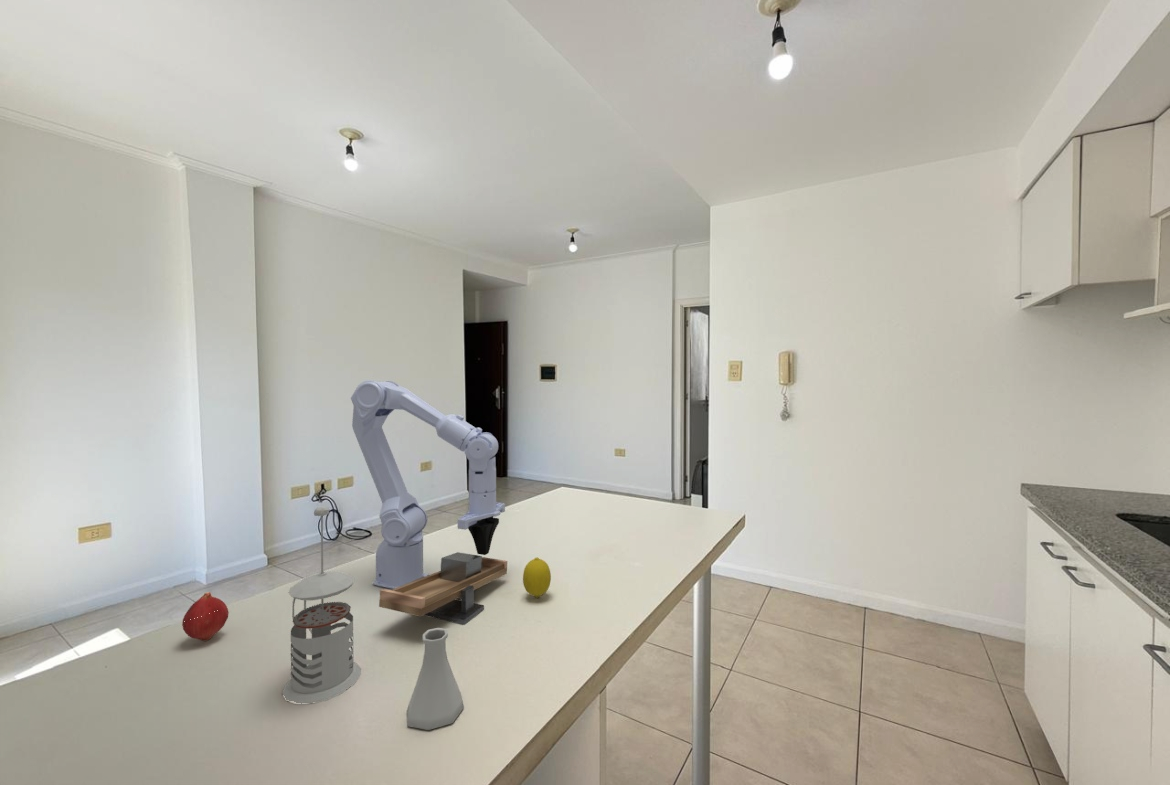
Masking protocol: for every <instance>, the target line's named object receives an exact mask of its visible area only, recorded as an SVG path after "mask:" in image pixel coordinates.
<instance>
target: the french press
mask: <svg viewBox="0 0 1170 785" xmlns="http://www.w3.org/2000/svg"><path fill="white" fill-rule="evenodd" d="M329 514H330V509H329V507H328V506H326V505H320V506H317V507H316V508H315V509H314V510H313V515H314V517H315V516H316V517H320V559H321V560H320V561H321V562H320V568H321V570H320V571H319V572H316V573H314V574H311V575H308V576H307V575H306V577H304V578H302V579H300V581H298V582H296V583H295V584H294V585H293V586H291V587H290V588H289V590H288V594H289V595H290V596H291V597H292V598H293V599H292V613H291V615H292V616H291V617H292V624H293V626H292V627H291V629H290V652H291V653H290V679H289V681H288V682H287V683H286V684H285V685H284V686H285V687H283V689H284V690H282V692H283V695H284V696H285V698H286V700H289V701H294V702H296V703H301V704H300V705H303V704H302V703H313V702H317V703H320V701H321V702H324V701H328V700H330V699H333V698H335V697H336V696H338V695H341V694H343V693H344V692H347V690H348V688H349V687H350V686H351V687H352V685H353V684H354V685H355V684H356V683H357V682H358V680H359V679H360V678H361V676H362V674H361V672H362V668H361V666H360V665H359V664H358V663H356V662H355V661H354V639H353V637H354V615H353V614H352V613H351V608H352V607H351V606H350V605H349V603H346V602H344V601H327V602H324V600H325V599H327V598H331V597H334V596H339V595H340V594H342V593H343V592H346V591H347V590H349V589H350V588H351V587H352V586H353V585H354V583H355V578H354V576H352V575H351V574H349V573H346V572H342V571H338V570H337V571H334V570H330V571H324V517H323V516H327V515H329ZM296 600H300V601H303V609H301V611H299V612H298V613H297V614H295V602H296ZM316 600H321V603H319V604H318V603H317V604H316V605H315V604H314V605H311V606H309V607H307V601H316ZM343 619H346V620H348V621H349V623H348V622H346V621H342V622H339V621H341V620H343ZM337 628H341V629H340V630H337V631H335V632H333V633H331V632H332V631H334V630H335V629H337ZM307 630H309V632H310V634H311V638H307ZM307 656H311V659H308V658H307ZM360 675H361V676H360ZM355 682H356V683H355ZM354 685H353V686H354ZM351 687H350V688H351ZM350 688H349V689H350ZM346 689H347V690H346ZM332 697H333V698H332ZM323 700H324V701H323ZM313 704H314V703H313Z"/></svg>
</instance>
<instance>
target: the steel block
mask: <svg viewBox="0 0 1170 785" xmlns="http://www.w3.org/2000/svg"><path fill="white" fill-rule="evenodd" d="M482 557H483V556H482V555H479V554H472V553H471V554H470V553H465V552H459V551H457V552H455V553H451V554H448V555H445V556H443V557H441V559H440V560H441V561H440V571H441V572H440V579H444V580H449V581H454V582H461V581H463V580H465V579H467V578H470V577H472V576H474V575H476V574H479V573H481V561H482Z"/></svg>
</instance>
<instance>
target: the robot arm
mask: <svg viewBox="0 0 1170 785" xmlns="http://www.w3.org/2000/svg"><path fill="white" fill-rule="evenodd" d="M350 400H351V403H352V405H353V410H352V412H353V413H352V424H351V425H352V430H353V432H354V433H353V434H354V435H355V437H356V440H357V443H358V445H359V447H360V450H361V453H362V454H363V458H364V461H365V463H366V465H367V467H368V470H369V473H370V475H371V478H372V480H373V483H374V485H375V488H376V491H377V492H378V497H379V498H380V501H381V504H382V505H381V508H380V512H379V515H378V516H379V519H380V522H381V531H380V532H381V537H382V539H383V540H381V542H380V544H378V546H377V549H376V552H375V580H374V581H373V582H372V585H373V586H377V587H382V588H387V589H390V590H392V589H395V588H397V587H400V586H402V585H405V584H407V583H410V582H413V581H415V580H417V579H419V578H421V577H423V576H424V577H426V576H428V575H430V573H429V574H428V573H424V535H423V530H424V529H425V528H426V526H427V523H428V515H427V512H426V510H425V509H424V508H423V507H422V506H421V505H420V504H419V502H418V500H417V498H416V497H415V496H413V495H412V494H411V493H409V492H408V490H407V487H406V484H405V482H404V480H403V477H402V474H401V472H400V470H399V467H398V464H397V462H396V459H395V456H394V455H393V452H392V450H391V446H390V444H389V442H388V440H387V437H386V434H385V432H384V429H383V426H384V423H385V422H386V420H387V418H388V417H389V415H390V414H392V413H393V411H394V410H403V411H405V412H407V413H408V414H411V415H412V416H414V417H416V418H417V419H420V420H421V421H423V422H424V423H426V424H428V425H430V426H432V427H433V428H434V429H435V430H436V434H437V437H439V438H440V439H441V440H444V441H445V442H446V443H448V444H449V445H451V446H453V447H454V448H456V449H458V450H459V451H461V452H464V454H465V458H467V460H468V511H467V512H466V513H465V514H464V515H462V516H461V517H459V518H457V529H458V530H464V531H465V530H468V531H469V533H470V535H471V537H472V540H473V542H474V545H475V549H476V550H475V551H476V553H477V554H476V555H480V556H482V555H483V556H486V555H488V554H489V553H490V550H491V545H492V540H493V537H494V533H495V531H496V529H497V527H498V525H499V524H500V518H498V517H499V516H500V515H501V513H505V512H506V504H505V502H497V466H496V454H497V453H498V450H499V442H498V440H497V438H496V437H495V436H494V435H493V433H491V432H487V431H486V432H483V429H482V428H481V427H475V426H473V425H472V424H470V422H467V421H466V420H464V418H465V416H463V415H461V414H454V413H450V414H447V415H445V414H444V413H442V412H441V411H439V410H438V409H437V408H435V407H434V406H432V405H430V403H428V402H426V401H425V400H424V399H422V398H421V397H419V396H418V395H416V394H414V392H412V391H410V390H409V388H406V387H404V386H401V385H399V384H398V383H396V382H395V381H389V380H388V381H375V380H365V381H363V382H361V383H359V384H358V385H357V387H356V388H355V390H354V392H353V393H352V395H351V397H350Z"/></svg>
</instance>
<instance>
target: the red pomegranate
mask: <svg viewBox="0 0 1170 785" xmlns="http://www.w3.org/2000/svg"><path fill="white" fill-rule="evenodd" d="M217 610H218V611H217ZM214 611H215V612H214ZM185 612H186V613H185V614H184V616H183V618H182V624H181V625H182V630H183V631H184V633H185V634H186V635H187V636H188V637H191V638H192V639H196V640H200V641H204V642H206V641H210V640H211V639H212V638H213V637H214V636H215V635H216V634H217V633H218V632H219V631H221V629H223V627H224V626H225V624H226V622H227V620H228V618H229V613H230V612H229V609H228V606H227V605H226V603H225V601H223V600H221V599H220V598H217V597H215V596H212V593H211V591H207V592H205V593H204V594H203V595H201V597H200V598H198V599H197V600H195V602H193V603H192V605H190V607H189V608H188V610H187V611H185ZM209 613H210V614H209ZM201 616H202V617H201ZM197 617H198V618H197ZM194 618H195V619H194ZM190 619H191V620H190ZM184 621H185V622H184Z"/></svg>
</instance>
